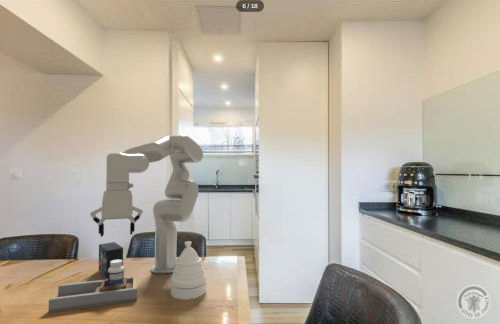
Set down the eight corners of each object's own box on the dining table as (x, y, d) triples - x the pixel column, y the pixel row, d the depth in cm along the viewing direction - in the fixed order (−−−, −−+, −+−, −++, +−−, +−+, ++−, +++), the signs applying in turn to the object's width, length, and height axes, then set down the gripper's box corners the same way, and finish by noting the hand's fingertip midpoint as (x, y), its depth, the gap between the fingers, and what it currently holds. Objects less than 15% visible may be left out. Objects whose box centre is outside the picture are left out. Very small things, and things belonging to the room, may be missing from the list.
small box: (97, 271, 131) (98, 244, 132) (114, 267, 136) (114, 241, 136) (106, 279, 121) (106, 250, 122) (123, 275, 126) (124, 247, 126)
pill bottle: (110, 285, 108) (111, 258, 109) (126, 285, 109) (126, 258, 109) (105, 291, 103) (105, 263, 103) (120, 291, 103) (121, 263, 104)
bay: (136, 286, 114) (137, 276, 114) (136, 300, 102) (136, 288, 102) (59, 296, 105) (59, 284, 105) (48, 312, 93) (48, 299, 93)
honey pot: (168, 288, 113) (169, 240, 114) (201, 283, 118) (201, 238, 119) (173, 301, 101) (174, 249, 102) (209, 295, 106) (210, 245, 107)
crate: (132, 285, 112) (132, 276, 112) (131, 295, 103) (131, 285, 103) (96, 290, 108) (97, 280, 108) (93, 301, 99) (93, 289, 99)
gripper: (142, 186, 113) (142, 230, 113) (92, 187, 107) (91, 234, 107) (143, 187, 106) (142, 235, 106) (89, 188, 100) (88, 239, 100)
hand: (117, 234), depth 106 cm, fingers open, 9 cm apart
